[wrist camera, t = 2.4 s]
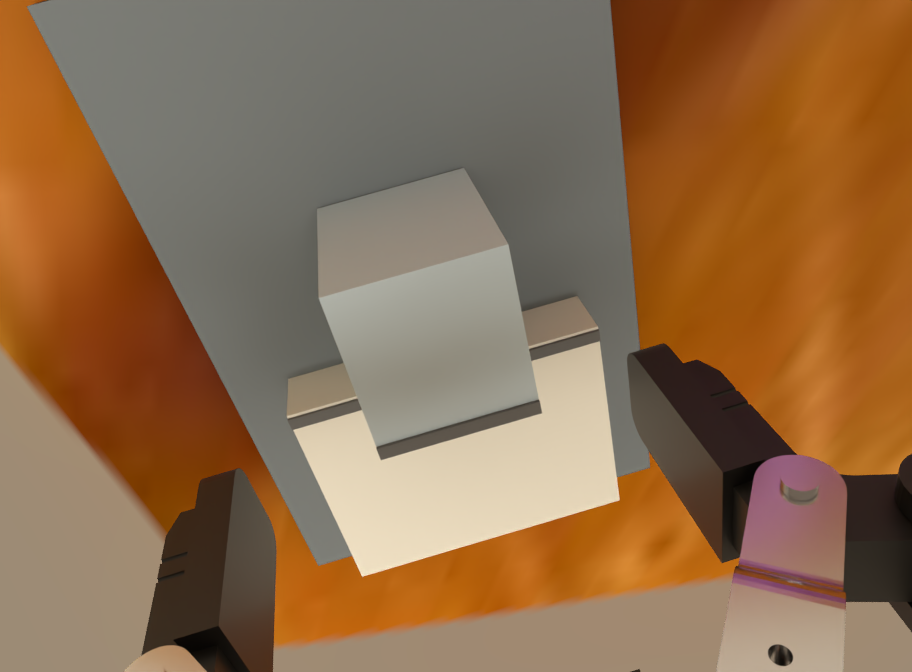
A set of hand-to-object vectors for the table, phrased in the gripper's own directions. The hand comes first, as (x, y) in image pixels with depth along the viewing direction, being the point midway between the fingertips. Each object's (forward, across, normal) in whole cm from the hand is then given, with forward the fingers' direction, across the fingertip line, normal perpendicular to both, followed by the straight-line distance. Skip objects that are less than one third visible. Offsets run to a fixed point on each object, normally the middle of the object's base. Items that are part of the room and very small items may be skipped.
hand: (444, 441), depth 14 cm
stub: (+9, 0, 0) cm, 9 cm away
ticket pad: (+9, 0, +2) cm, 9 cm away
